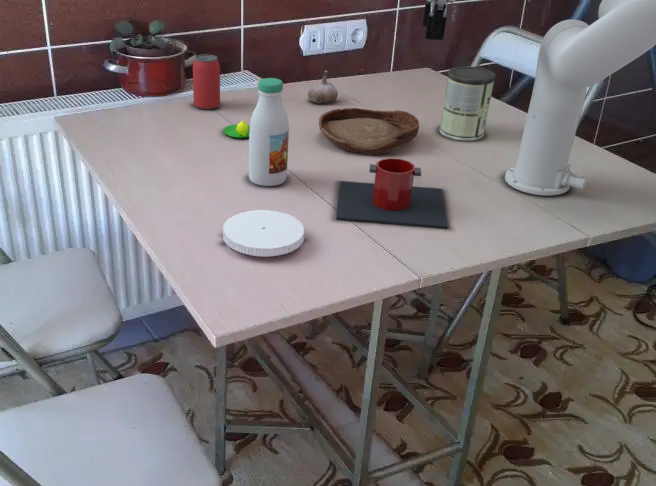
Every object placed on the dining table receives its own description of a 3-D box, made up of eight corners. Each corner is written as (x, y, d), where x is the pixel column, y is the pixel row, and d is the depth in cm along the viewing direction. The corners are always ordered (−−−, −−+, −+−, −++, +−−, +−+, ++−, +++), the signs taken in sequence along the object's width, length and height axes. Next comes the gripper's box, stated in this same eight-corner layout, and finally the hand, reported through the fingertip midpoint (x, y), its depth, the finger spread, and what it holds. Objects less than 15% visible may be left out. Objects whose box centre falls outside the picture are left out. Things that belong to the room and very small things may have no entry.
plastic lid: (214, 256, 125) (214, 243, 123) (232, 218, 136) (232, 206, 135) (297, 266, 123) (298, 252, 121) (308, 226, 134) (309, 214, 133)
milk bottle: (254, 189, 147) (256, 88, 136) (244, 173, 153) (245, 76, 142) (291, 185, 149) (296, 85, 138) (280, 169, 155) (284, 73, 144)
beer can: (191, 102, 188) (189, 54, 182) (216, 100, 190) (215, 52, 183) (197, 111, 183) (196, 62, 176) (223, 109, 185) (222, 60, 178)
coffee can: (436, 123, 179) (446, 64, 171) (480, 126, 178) (491, 67, 171) (441, 139, 171) (451, 78, 163) (487, 142, 170) (499, 80, 162)
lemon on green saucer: (262, 137, 170) (263, 125, 168) (229, 141, 167) (229, 129, 166) (250, 125, 176) (250, 113, 174) (218, 129, 173) (218, 117, 172)
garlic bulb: (342, 100, 192) (344, 69, 188) (328, 108, 187) (331, 76, 182) (316, 94, 195) (318, 64, 191) (302, 102, 190) (304, 71, 186)
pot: (415, 196, 144) (420, 160, 140) (416, 212, 139) (422, 175, 134) (366, 192, 145) (370, 156, 141) (365, 208, 140) (369, 171, 135)
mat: (441, 190, 148) (441, 188, 148) (447, 228, 135) (447, 226, 134) (340, 183, 150) (340, 180, 150) (336, 219, 137) (336, 217, 136)
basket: (321, 156, 161) (323, 134, 158) (312, 123, 178) (314, 102, 175) (424, 156, 162) (428, 135, 159) (406, 123, 179) (409, 103, 176)
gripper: (474, -61, 122) (456, 45, 132) (464, -75, 136) (449, 22, 146) (428, -63, 123) (413, 43, 132) (423, -77, 137) (410, 20, 147)
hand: (432, 32), depth 139 cm, fingers open, 9 cm apart
